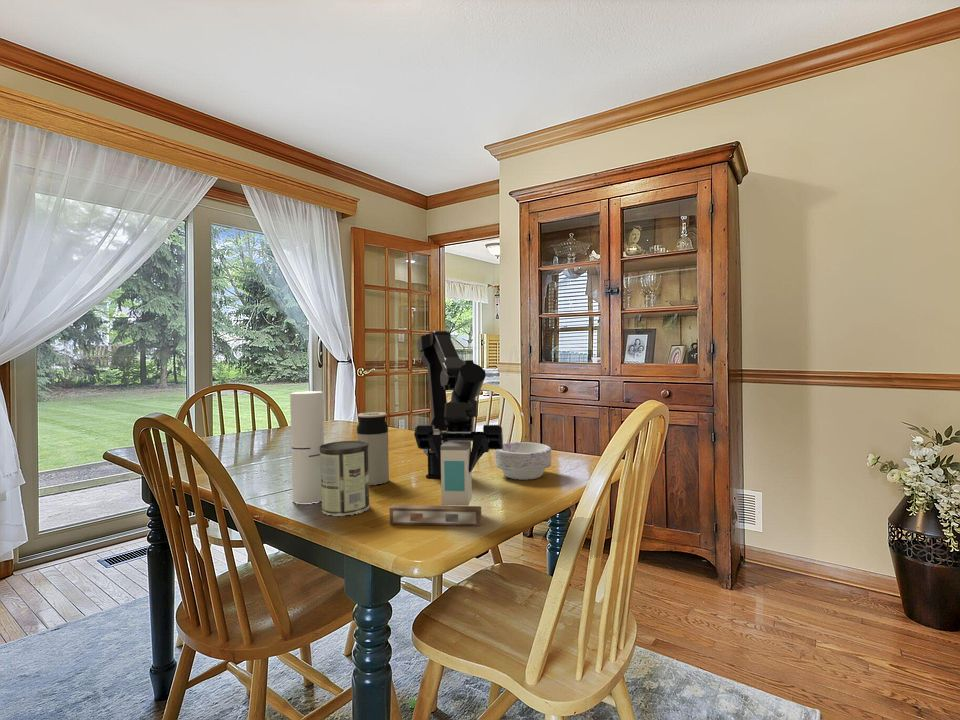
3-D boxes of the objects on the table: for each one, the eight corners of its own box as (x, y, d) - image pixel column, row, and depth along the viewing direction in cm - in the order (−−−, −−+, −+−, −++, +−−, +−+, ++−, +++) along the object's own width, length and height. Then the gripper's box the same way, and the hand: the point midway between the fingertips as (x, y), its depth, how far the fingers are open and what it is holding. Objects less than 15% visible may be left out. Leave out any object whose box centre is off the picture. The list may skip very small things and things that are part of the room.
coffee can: (342, 500, 116) (341, 439, 115) (379, 505, 111) (378, 442, 111) (310, 513, 106) (308, 447, 106) (349, 519, 102) (347, 450, 102)
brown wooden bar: (388, 525, 98) (388, 508, 98) (392, 520, 101) (392, 504, 101) (480, 527, 96) (479, 510, 96) (481, 522, 99) (481, 506, 99)
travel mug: (363, 487, 126) (361, 416, 126) (354, 481, 133) (352, 413, 132) (393, 483, 130) (392, 414, 130) (383, 476, 137) (381, 411, 136)
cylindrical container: (294, 497, 119) (292, 391, 118) (326, 494, 120) (323, 390, 120) (290, 506, 112) (287, 394, 111) (323, 503, 113) (321, 393, 113)
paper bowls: (546, 484, 126) (546, 453, 126) (488, 481, 130) (488, 451, 130) (555, 470, 140) (555, 442, 140) (503, 468, 145) (502, 440, 145)
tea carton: (446, 497, 107) (445, 441, 107) (471, 497, 106) (470, 441, 106) (441, 505, 101) (440, 446, 101) (468, 505, 101) (467, 446, 100)
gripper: (415, 387, 108) (403, 448, 97) (501, 387, 106) (498, 449, 96) (423, 419, 116) (413, 478, 105) (504, 419, 114) (501, 479, 103)
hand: (455, 471), depth 102 cm, fingers closed on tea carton, 5 cm apart
